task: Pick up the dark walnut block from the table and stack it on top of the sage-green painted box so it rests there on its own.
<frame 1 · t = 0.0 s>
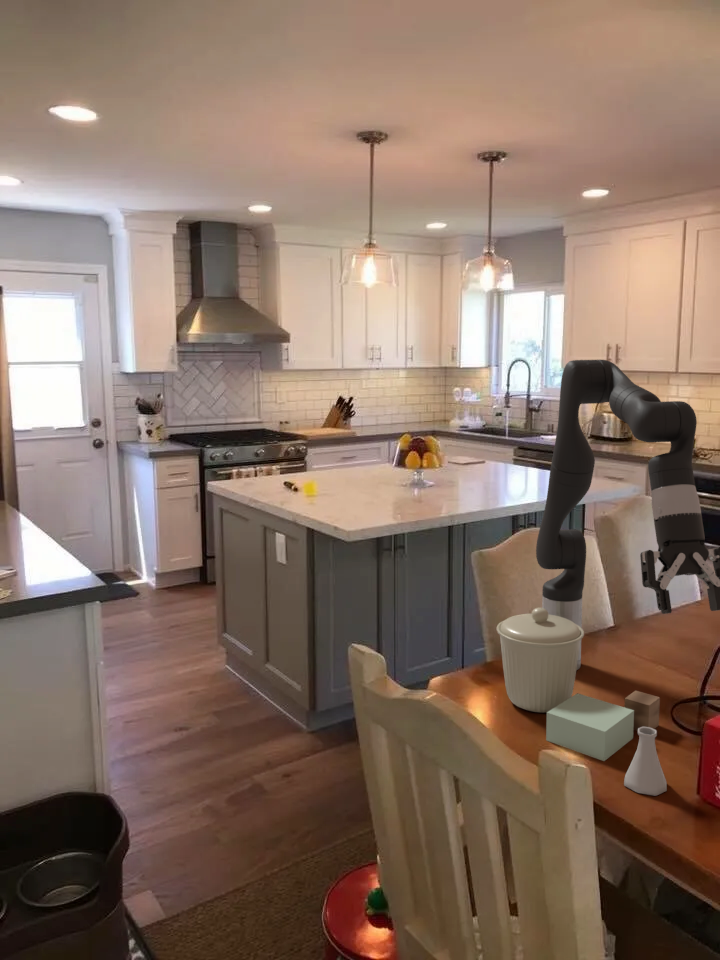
hand: (691, 612, 128), 31 cm above the table, tool tilted 20°, fingers open, 8 cm apart
walnut block: (641, 726, 156), on the table
sage box: (589, 740, 151), on the table
canister: (538, 703, 168), on the table
flask: (645, 786, 135), on the table
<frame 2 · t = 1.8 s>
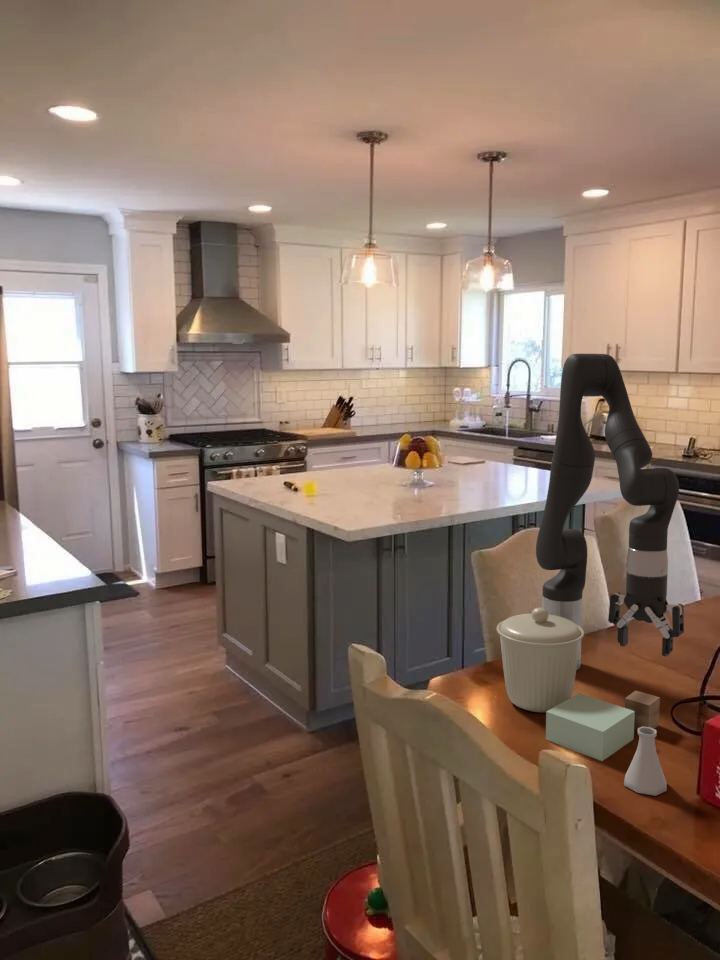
hand: (644, 650, 154), 16 cm above the table, tool pointing down, fingers open, 8 cm apart
nothing on the table moved.
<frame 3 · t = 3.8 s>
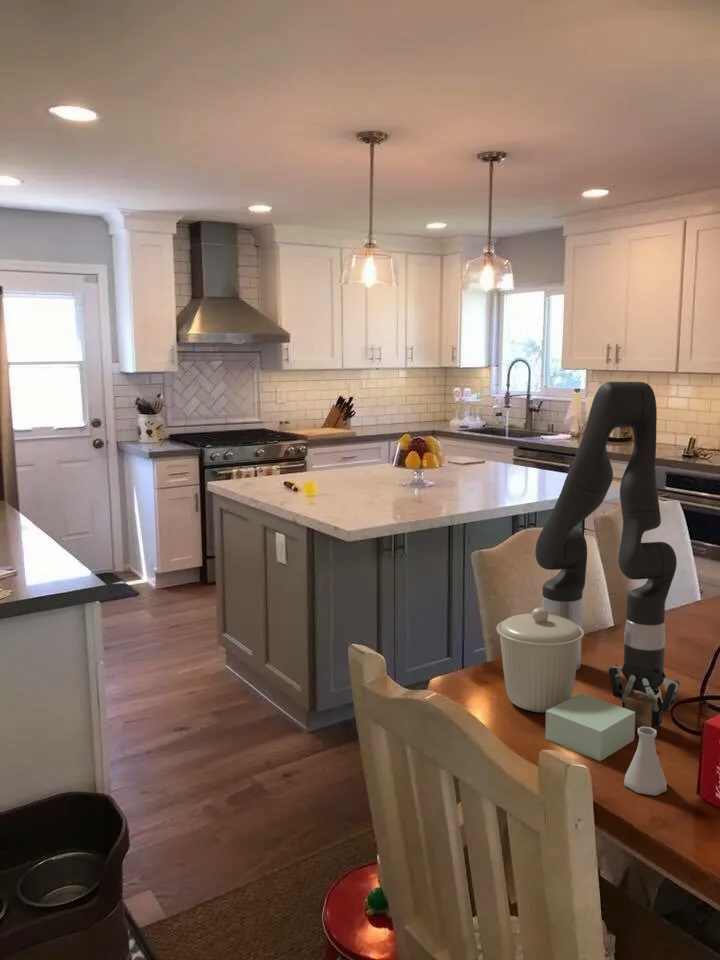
hand: (641, 722, 156), 1 cm above the table, tool pointing down, fingers closed on walnut block, 5 cm apart
walnut block: (641, 725, 156), on the table, touching gripper
everything else where it was.
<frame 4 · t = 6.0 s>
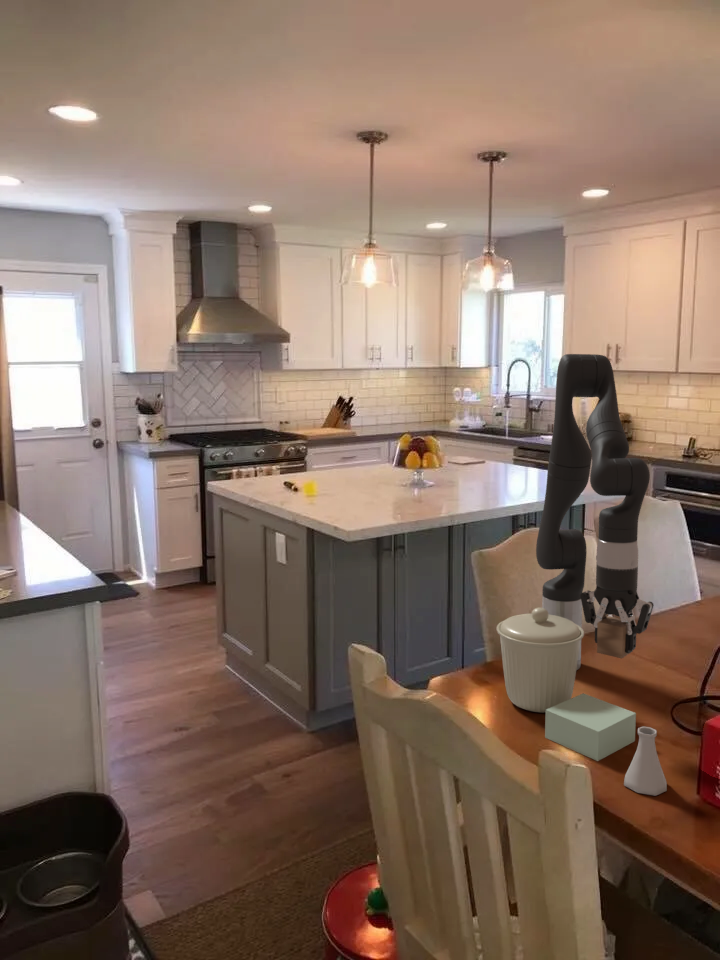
hand: (614, 648, 150), 18 cm above the table, tool pointing down, fingers closed on walnut block, 5 cm apart
walnut block: (614, 651, 150), point 17 cm above the table, touching gripper
everything else where it was.
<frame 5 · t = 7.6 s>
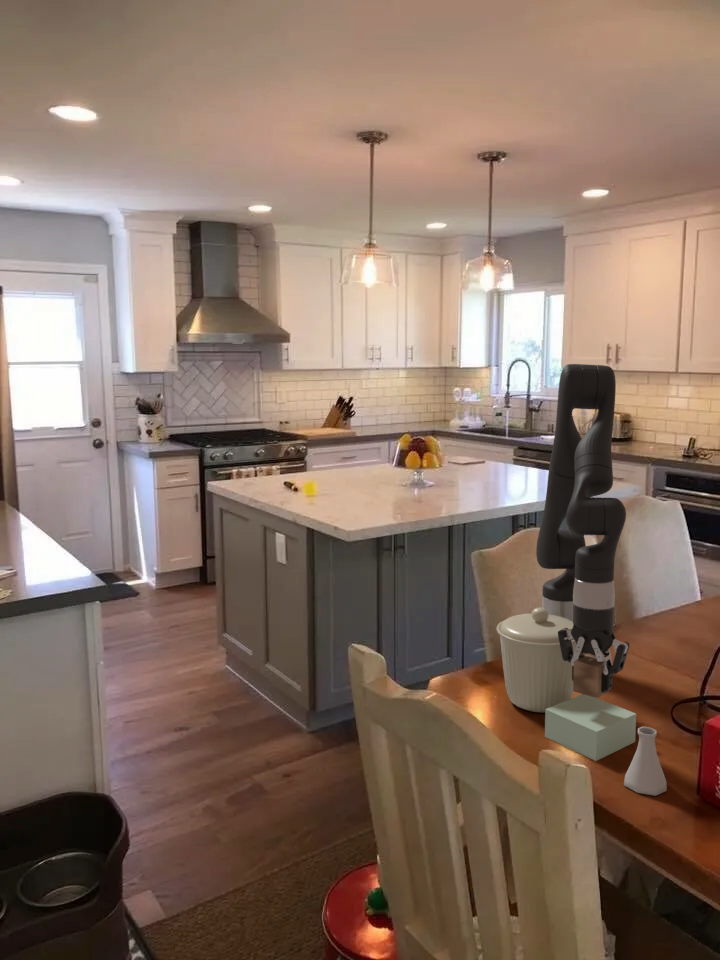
hand: (591, 687, 150), 11 cm above the table, tool pointing down, fingers closed on walnut block, 5 cm apart
walnut block: (591, 690, 150), point 10 cm above the table, touching gripper
everything else where it was.
when the fingers open (8 cm above the table, at t = 8.6 s): walnut block drops 1 cm, resting on sage box.
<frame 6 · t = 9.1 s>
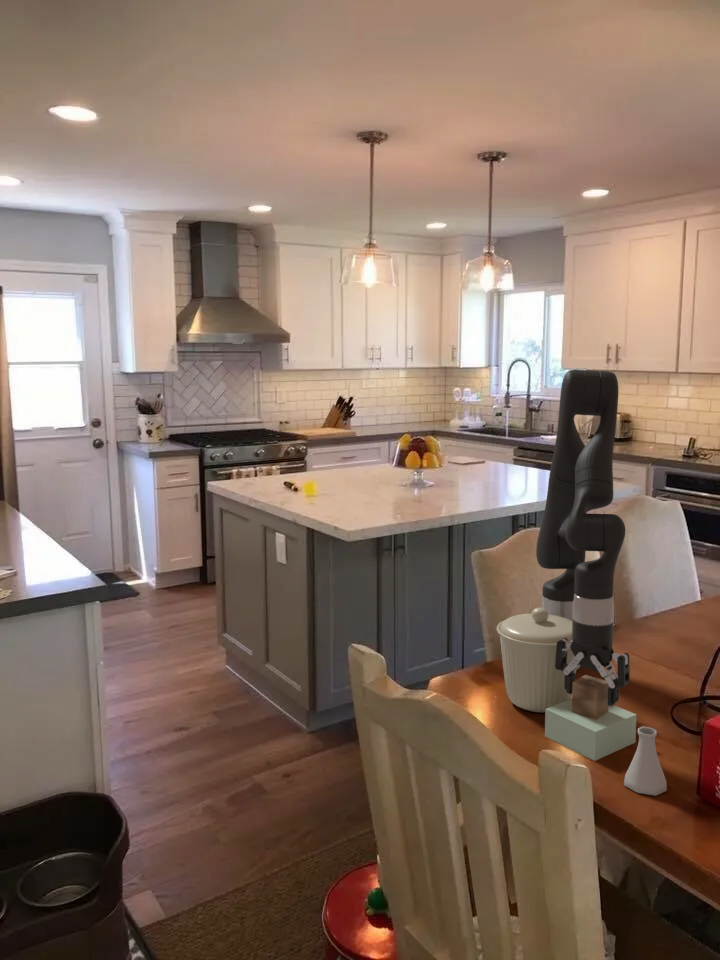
hand: (590, 698, 150), 8 cm above the table, tool pointing down, fingers open, 8 cm apart
walnut block: (590, 711, 150), point 6 cm above the table, touching sage box
sage box: (589, 740, 151), on the table, touching walnut block
everything else where it was.
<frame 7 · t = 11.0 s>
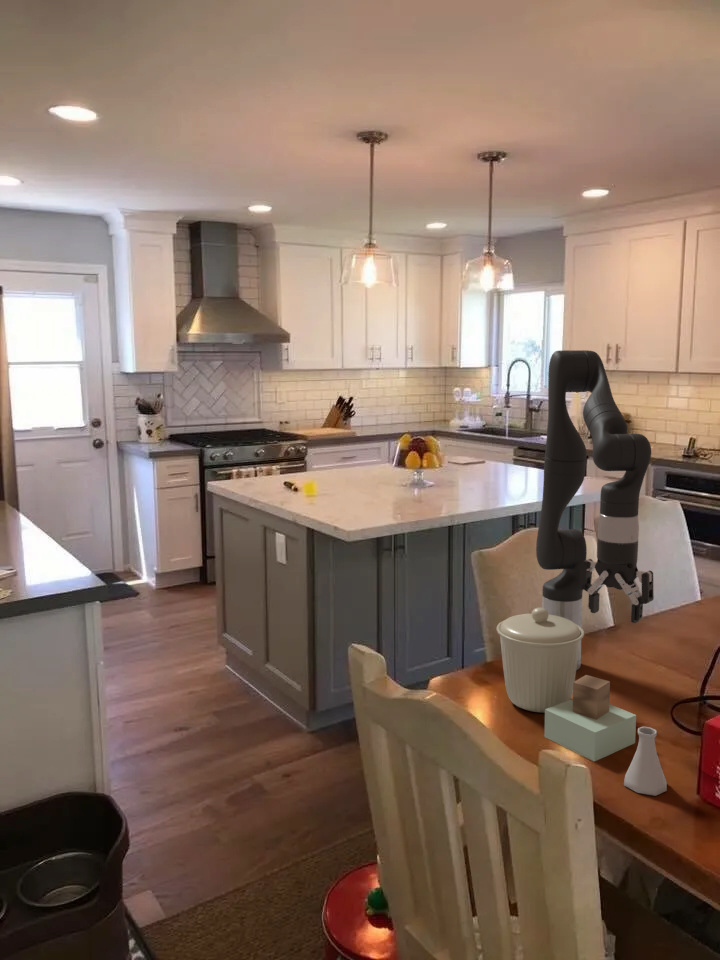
hand: (614, 616, 153), 23 cm above the table, tool pointing down, fingers open, 8 cm apart
walnut block: (590, 711, 151), point 6 cm above the table
sage box: (589, 741, 151), on the table
everything else where it was.
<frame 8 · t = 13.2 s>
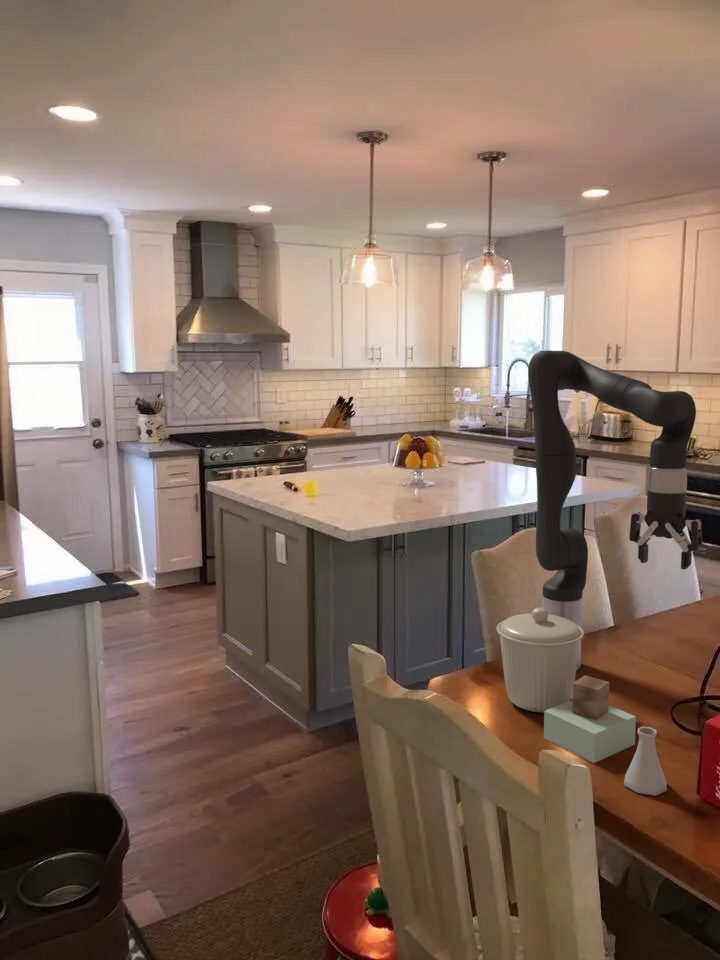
hand: (663, 565, 163), 30 cm above the table, tool pointing down, fingers open, 8 cm apart
nothing on the table moved.
at the end: walnut block inside the target area on the sage box (0.6 cm from its centre), point 6.0 cm above the sage box's base; the gripper is holding nothing; walnut block tilted 1° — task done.
